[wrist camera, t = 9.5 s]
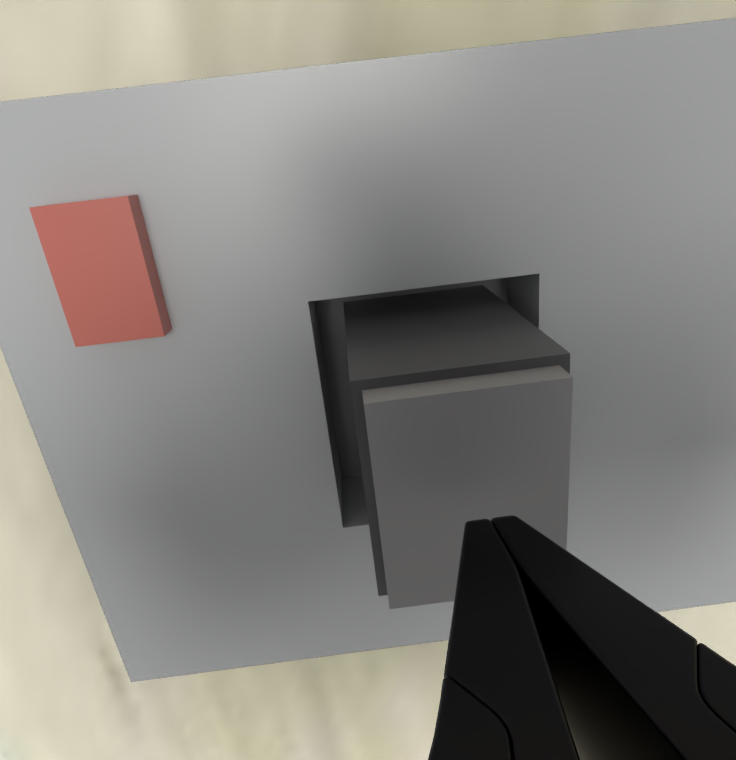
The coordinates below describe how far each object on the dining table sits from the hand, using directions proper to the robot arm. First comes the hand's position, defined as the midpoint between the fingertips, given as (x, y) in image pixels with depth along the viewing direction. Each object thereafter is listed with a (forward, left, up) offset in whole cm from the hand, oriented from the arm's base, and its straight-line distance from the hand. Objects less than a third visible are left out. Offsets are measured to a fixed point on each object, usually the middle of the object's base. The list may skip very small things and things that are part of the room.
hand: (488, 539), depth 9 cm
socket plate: (0, 0, -8) cm, 8 cm away
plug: (0, 0, -8) cm, 8 cm away
